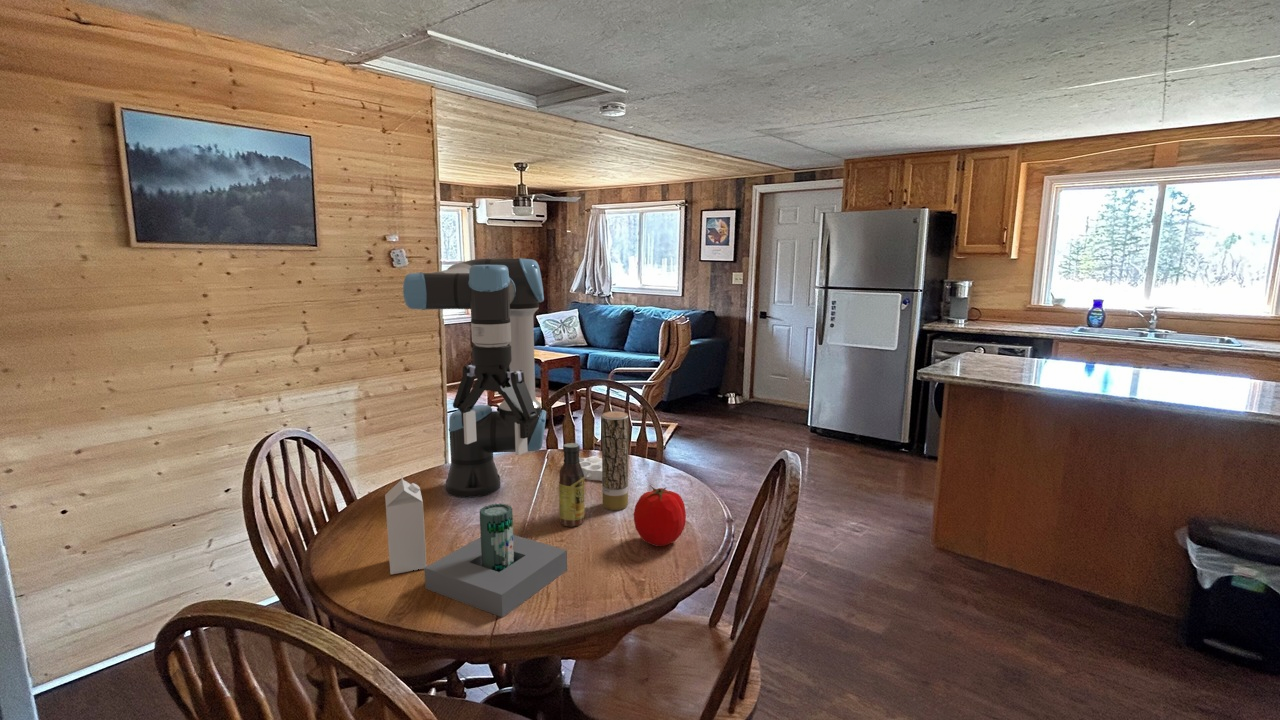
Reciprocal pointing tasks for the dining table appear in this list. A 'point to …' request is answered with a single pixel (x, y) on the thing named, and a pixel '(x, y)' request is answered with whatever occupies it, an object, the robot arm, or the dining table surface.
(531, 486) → the dining table surface
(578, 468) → the sauce bottle
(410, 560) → the milk carton
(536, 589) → the socket block
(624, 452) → the paper tube
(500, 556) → the can
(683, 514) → the tomato
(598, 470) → the white muffin tray
